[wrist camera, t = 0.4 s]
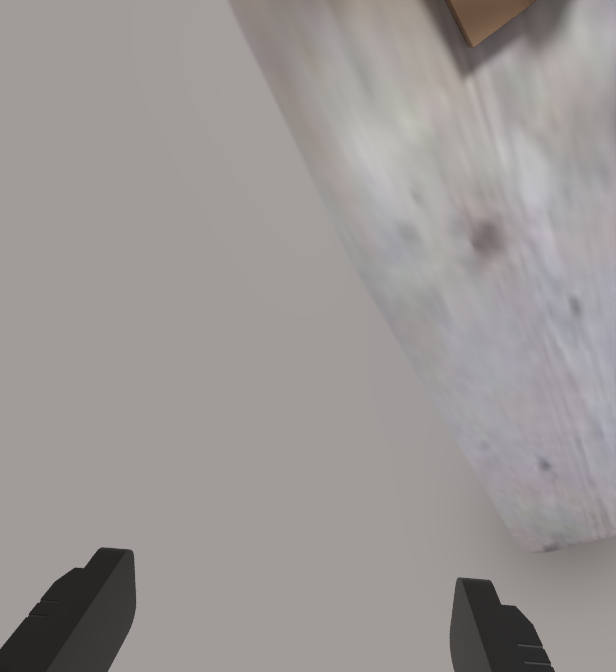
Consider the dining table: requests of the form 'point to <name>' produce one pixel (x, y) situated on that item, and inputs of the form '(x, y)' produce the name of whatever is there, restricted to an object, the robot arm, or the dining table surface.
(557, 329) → the dining table surface
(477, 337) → the dining table surface
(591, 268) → the dining table surface
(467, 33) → the rail board
